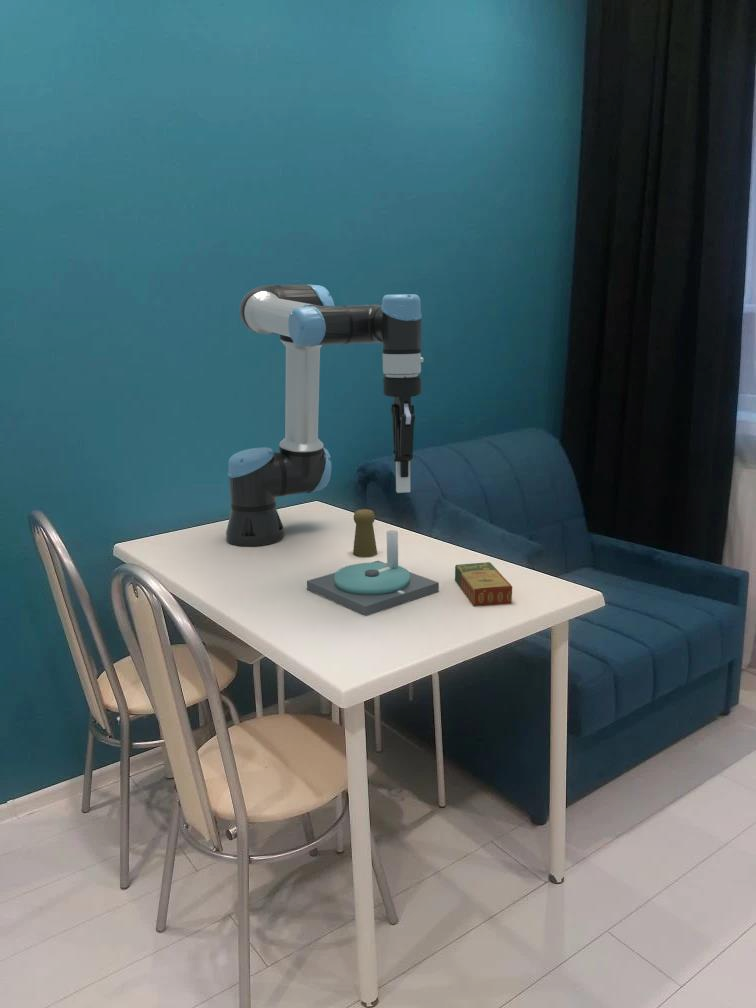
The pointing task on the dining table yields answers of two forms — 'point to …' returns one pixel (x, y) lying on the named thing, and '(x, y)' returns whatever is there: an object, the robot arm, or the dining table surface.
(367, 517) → the cork
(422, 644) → the dining table surface
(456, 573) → the carton
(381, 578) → the dial
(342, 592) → the base plate
